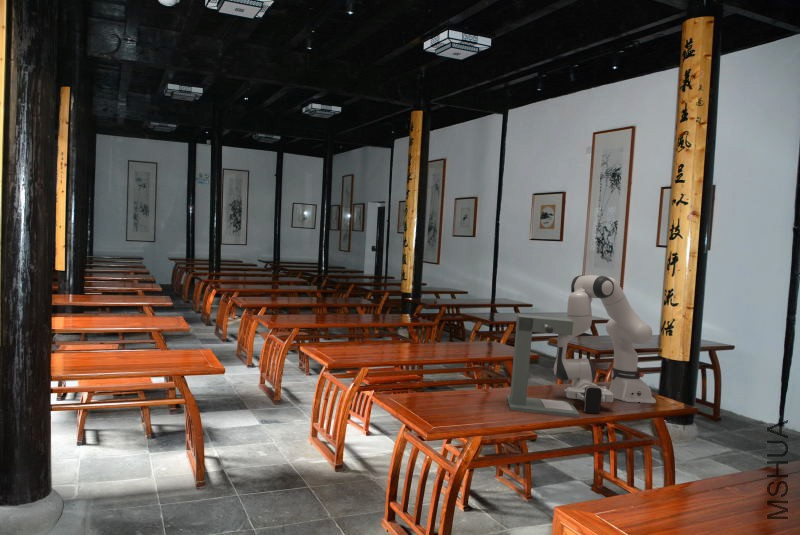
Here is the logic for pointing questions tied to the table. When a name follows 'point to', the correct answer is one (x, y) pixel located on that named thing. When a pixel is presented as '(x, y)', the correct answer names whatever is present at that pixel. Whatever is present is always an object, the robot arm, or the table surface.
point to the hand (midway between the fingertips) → (593, 399)
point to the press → (522, 360)
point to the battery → (592, 399)
